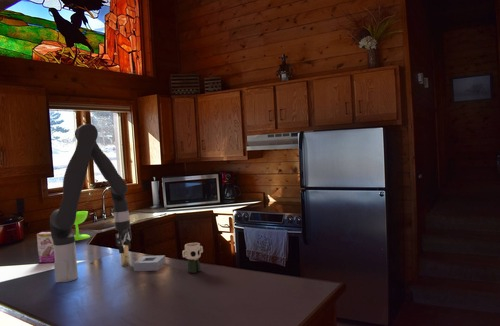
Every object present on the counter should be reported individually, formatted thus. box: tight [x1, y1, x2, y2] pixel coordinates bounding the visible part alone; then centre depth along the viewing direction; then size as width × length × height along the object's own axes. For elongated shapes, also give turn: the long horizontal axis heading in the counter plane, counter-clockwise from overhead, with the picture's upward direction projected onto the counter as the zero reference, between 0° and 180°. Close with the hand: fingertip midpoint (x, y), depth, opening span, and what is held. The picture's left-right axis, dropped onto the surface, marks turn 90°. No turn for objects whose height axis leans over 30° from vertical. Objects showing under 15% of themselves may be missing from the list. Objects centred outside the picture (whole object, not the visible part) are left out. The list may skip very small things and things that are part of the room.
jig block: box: [133, 255, 167, 272], centre depth 198 cm, size 12×12×4 cm
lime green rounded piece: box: [73, 210, 91, 242], centre depth 282 cm, size 16×16×18 cm
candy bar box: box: [36, 231, 55, 264], centre depth 222 cm, size 11×5×16 cm, turn 84°
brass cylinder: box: [120, 244, 130, 267], centre depth 205 cm, size 4×4×10 cm
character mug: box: [181, 242, 204, 274], centre depth 186 cm, size 11×7×13 cm, turn 130°
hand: (125, 250), depth 205 cm, fingers open, 8 cm apart
